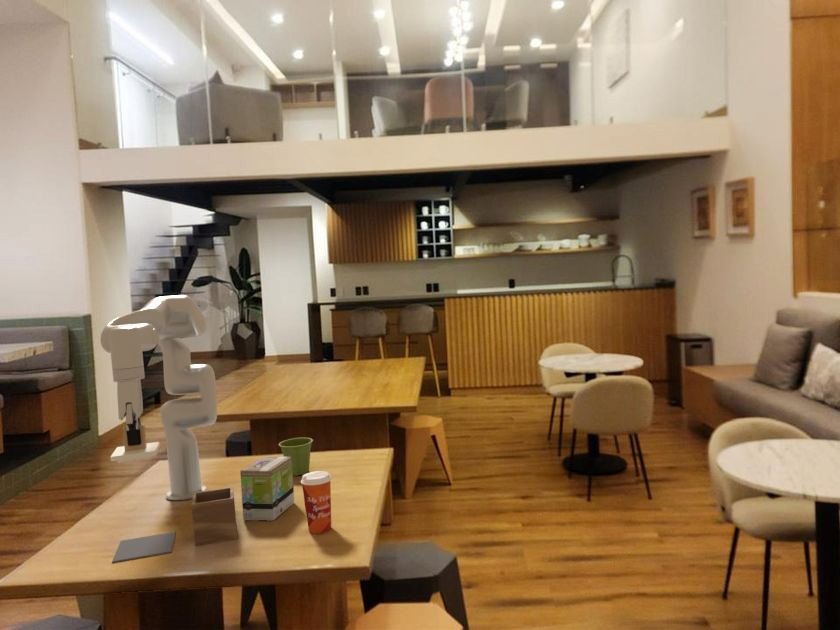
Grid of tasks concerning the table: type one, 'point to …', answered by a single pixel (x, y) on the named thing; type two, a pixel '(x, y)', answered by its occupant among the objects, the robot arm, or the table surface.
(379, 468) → the table surface
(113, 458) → the lid
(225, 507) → the box
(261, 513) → the tea box
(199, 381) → the robot arm
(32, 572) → the table surface
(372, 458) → the table surface
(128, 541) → the mat
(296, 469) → the plant pot
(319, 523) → the coffee cup
